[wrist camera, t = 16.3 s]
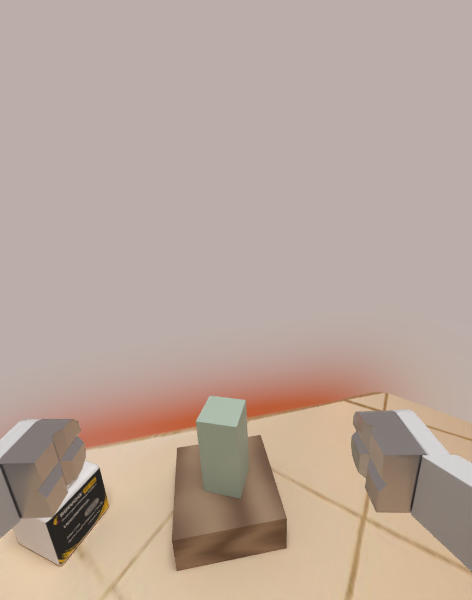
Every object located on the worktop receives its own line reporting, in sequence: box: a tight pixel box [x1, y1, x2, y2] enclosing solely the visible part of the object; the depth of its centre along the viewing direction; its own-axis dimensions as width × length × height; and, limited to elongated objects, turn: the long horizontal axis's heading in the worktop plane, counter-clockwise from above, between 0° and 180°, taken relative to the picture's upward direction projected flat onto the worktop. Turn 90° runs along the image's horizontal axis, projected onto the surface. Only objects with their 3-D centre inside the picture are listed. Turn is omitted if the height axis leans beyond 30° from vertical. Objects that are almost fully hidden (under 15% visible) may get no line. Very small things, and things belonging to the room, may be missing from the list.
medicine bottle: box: [13, 461, 109, 566], centre depth 34 cm, size 7×7×12 cm
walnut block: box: [172, 435, 287, 571], centre depth 36 cm, size 12×12×5 cm
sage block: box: [196, 396, 249, 499], centre depth 34 cm, size 4×4×10 cm
